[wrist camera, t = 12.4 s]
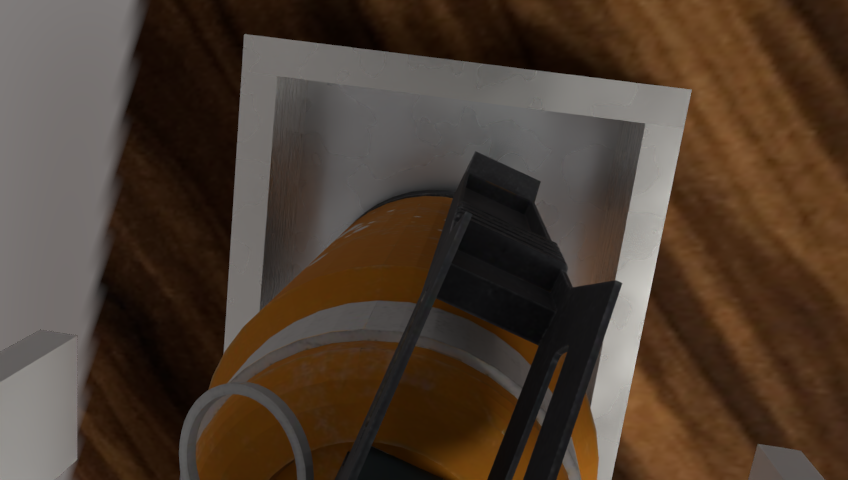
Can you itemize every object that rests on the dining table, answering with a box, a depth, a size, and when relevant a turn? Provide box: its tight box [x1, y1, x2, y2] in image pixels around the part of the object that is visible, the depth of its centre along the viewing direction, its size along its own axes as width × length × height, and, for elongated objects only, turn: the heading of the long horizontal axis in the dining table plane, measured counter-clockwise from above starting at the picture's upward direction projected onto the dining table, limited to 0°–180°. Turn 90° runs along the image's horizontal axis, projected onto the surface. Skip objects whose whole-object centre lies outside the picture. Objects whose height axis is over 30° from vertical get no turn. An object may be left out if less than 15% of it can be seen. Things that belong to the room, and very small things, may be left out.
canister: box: [179, 151, 622, 480], centre depth 18 cm, size 9×11×20 cm
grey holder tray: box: [224, 34, 692, 480], centre depth 23 cm, size 26×16×14 cm, turn 173°
